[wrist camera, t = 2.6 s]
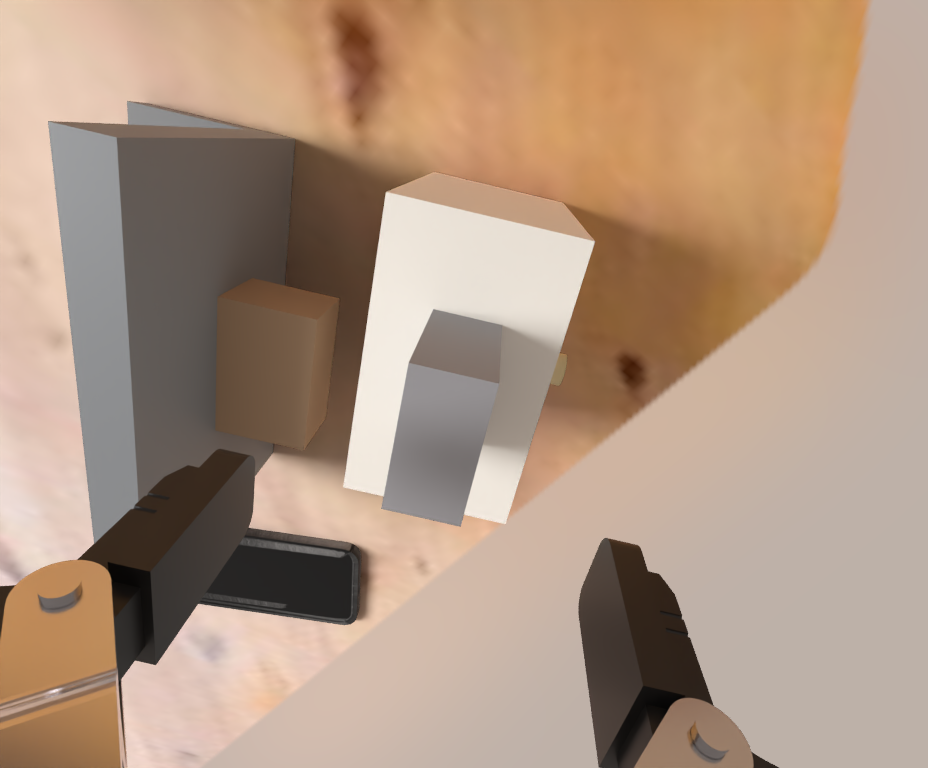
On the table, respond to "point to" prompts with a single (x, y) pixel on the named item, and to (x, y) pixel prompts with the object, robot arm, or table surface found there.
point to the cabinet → (461, 344)
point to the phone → (290, 578)
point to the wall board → (183, 299)
